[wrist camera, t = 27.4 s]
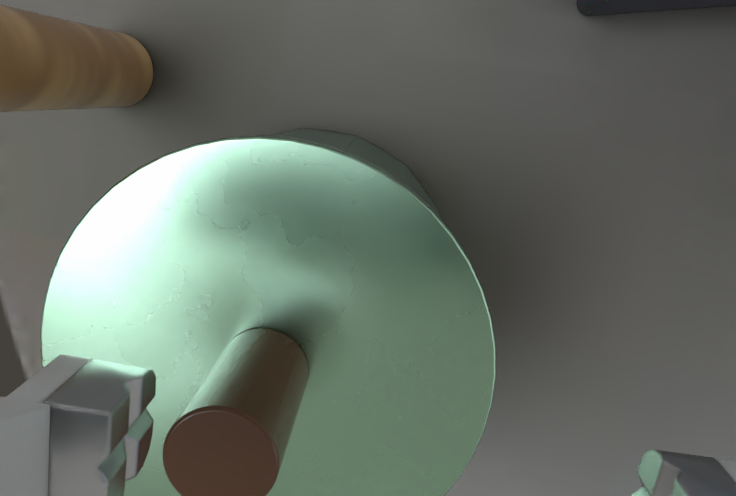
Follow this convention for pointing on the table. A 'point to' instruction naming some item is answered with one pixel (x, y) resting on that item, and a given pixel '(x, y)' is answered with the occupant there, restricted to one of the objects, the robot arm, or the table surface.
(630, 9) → the calculator
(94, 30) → the stick
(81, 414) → the robot arm
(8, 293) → the table surface
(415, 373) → the tin lid
